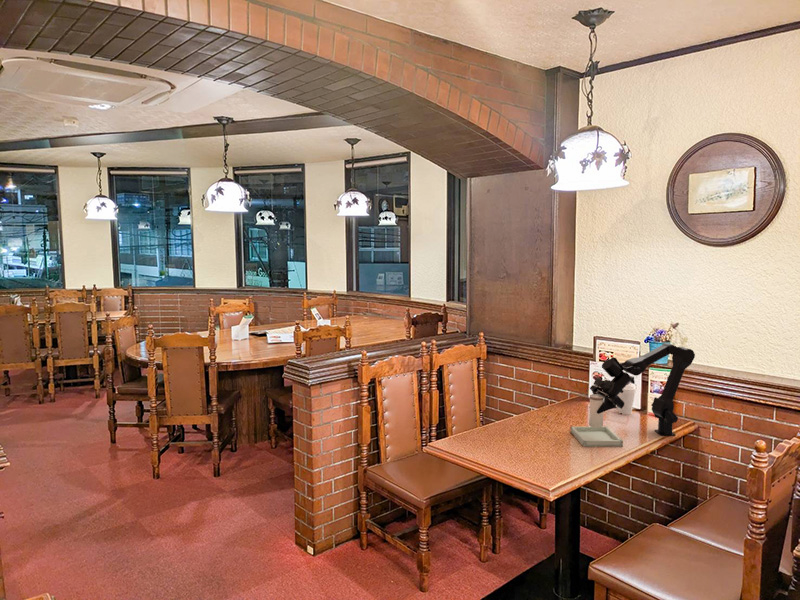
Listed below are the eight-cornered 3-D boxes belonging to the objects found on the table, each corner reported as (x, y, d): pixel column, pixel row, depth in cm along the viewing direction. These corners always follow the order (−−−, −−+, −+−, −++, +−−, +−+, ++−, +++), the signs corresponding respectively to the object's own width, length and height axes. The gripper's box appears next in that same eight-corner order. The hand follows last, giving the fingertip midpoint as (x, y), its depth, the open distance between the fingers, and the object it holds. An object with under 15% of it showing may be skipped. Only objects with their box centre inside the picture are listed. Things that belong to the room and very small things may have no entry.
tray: (622, 446, 231) (622, 440, 231) (583, 446, 231) (584, 441, 231) (606, 431, 249) (606, 426, 249) (570, 432, 249) (570, 426, 249)
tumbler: (605, 426, 238) (606, 396, 237) (596, 428, 236) (597, 398, 234) (595, 422, 244) (596, 393, 242) (586, 424, 241) (586, 395, 240)
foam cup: (614, 414, 274) (615, 388, 272) (613, 409, 283) (614, 383, 281) (635, 416, 271) (636, 390, 270) (633, 410, 280) (634, 385, 278)
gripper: (594, 366, 247) (570, 392, 246) (618, 376, 229) (593, 405, 228) (609, 383, 249) (586, 409, 248) (635, 394, 231) (610, 422, 230)
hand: (593, 410), depth 239 cm, fingers closed on tumbler, 6 cm apart
